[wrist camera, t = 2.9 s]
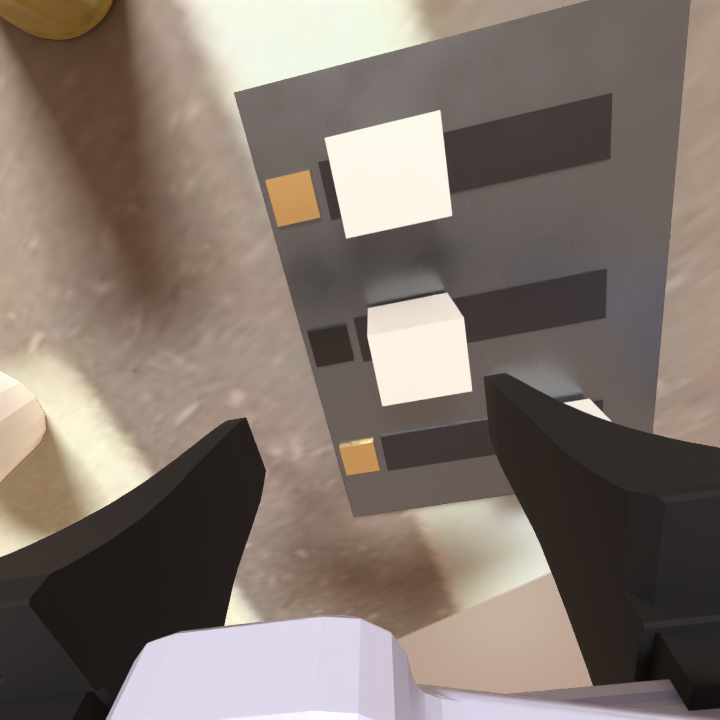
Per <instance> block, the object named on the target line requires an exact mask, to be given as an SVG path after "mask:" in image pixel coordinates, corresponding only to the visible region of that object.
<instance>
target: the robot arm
mask: <svg viewBox="0 0 720 720" xmlns="http://www.w3.org/2000/svg"><path fill="white" fill-rule="evenodd" d="M484 386H485V396H486V406H487V416H488V426H489V436H490V438H491V441H492V444H493V447H494V450H495V453H496V455H497V458H498V461H499V464H500V466H501V468H502V470H503V472H504V474H505V476H506V477H507V479H508V481H509V483H510V485H511V487H512V489H513V491H514V493H515V495H516V497H517V499H518V501H519V502H520V504H521V506H522V508H523V510H524V512H525V514H526V516H527V518H528V520H529V522H530V523H531V525H532V527H533V529H534V531H535V534H536V536H537V538H538V540H539V542H540V545H541V547H542V550H543V552H544V555H545V557H546V560H547V562H548V565H549V567H550V570H551V572H552V575H553V577H554V579H555V582H556V585H557V588H558V591H559V593H560V596H561V598H562V601H563V604H564V606H565V609H566V611H567V614H568V617H569V620H570V622H571V625H572V628H573V631H574V633H575V636H576V639H577V642H578V644H579V647H580V650H581V653H582V655H583V658H584V661H585V663H586V667H587V669H588V672H589V675H590V678H591V681H592V684H593V686H589V687H578V688H568V689H556V690H547V691H535V692H525V693H513V694H500V693H491V692H482V691H474V690H464V689H456V688H447V687H439V686H430V685H421V684H416V683H415V681H414V679H413V677H412V673H411V669H410V665H409V662H408V658H407V654H406V653H405V651H404V650H403V648H402V647H401V646H400V644H399V643H398V641H397V640H396V639H395V637H394V636H393V635H392V633H391V632H389V631H388V630H387V629H385V628H383V627H381V626H379V625H376V624H374V623H372V622H370V621H368V620H365V619H363V618H361V617H359V616H345V615H328V614H324V615H316V616H307V617H299V618H290V619H281V620H273V621H264V622H256V623H247V624H239V625H230V626H224V624H225V619H226V614H227V610H228V605H229V601H230V596H231V592H232V588H233V583H234V580H235V576H236V573H237V569H238V566H239V563H240V560H241V557H242V554H243V551H244V549H245V546H246V543H247V540H248V537H249V534H250V531H251V528H252V525H253V522H254V519H255V516H256V513H257V510H258V507H259V504H260V501H261V496H262V491H263V486H264V479H265V473H266V470H265V467H264V464H263V461H262V459H261V456H260V453H259V451H258V448H257V445H256V443H255V440H254V437H253V435H252V432H251V429H250V427H249V424H248V421H247V418H240V419H234V420H228V421H226V422H224V423H223V424H221V425H219V426H218V427H217V428H215V429H214V430H213V431H211V432H210V433H209V434H207V435H206V436H205V437H203V438H202V439H201V440H200V441H198V442H197V443H196V444H194V445H193V446H192V447H191V448H189V449H188V450H187V451H186V452H184V453H183V454H182V455H180V456H179V457H178V458H177V459H175V460H174V461H173V462H171V463H170V464H168V465H167V466H166V467H164V468H163V469H162V470H160V471H159V472H158V473H156V474H155V475H153V476H152V477H151V478H149V479H148V480H147V481H145V482H144V483H142V484H141V485H139V486H138V487H136V488H135V489H133V490H132V491H130V492H128V493H127V494H125V495H124V496H122V497H120V498H119V499H117V500H116V501H114V502H112V503H111V504H109V505H107V506H105V507H104V508H102V509H100V510H98V511H96V512H94V513H93V514H91V515H89V516H87V517H85V518H83V519H82V520H80V521H78V522H76V523H74V524H72V525H71V526H69V527H67V528H65V529H63V530H60V531H58V532H56V533H54V534H52V535H50V536H48V537H46V538H44V539H42V540H39V541H37V542H35V543H33V544H31V545H29V546H26V547H24V548H22V549H19V550H17V551H15V552H13V553H10V554H8V555H5V556H3V557H0V720H720V448H718V447H713V446H707V445H702V444H696V443H690V442H685V441H681V440H676V439H671V438H667V437H663V436H659V435H655V434H651V433H647V432H643V431H639V430H636V429H632V428H629V427H626V426H622V425H619V424H616V423H613V422H610V421H607V420H605V419H602V418H599V417H596V416H593V415H591V414H588V413H586V412H583V411H581V410H579V409H576V408H574V407H572V406H569V405H567V404H565V403H563V402H561V401H559V400H556V399H554V398H552V397H550V396H548V395H546V394H544V393H543V392H541V391H539V390H537V389H535V388H533V387H531V386H529V385H528V384H526V383H524V382H522V381H520V380H518V379H517V378H515V377H513V376H511V375H509V374H507V373H501V374H495V375H489V376H484Z"/></svg>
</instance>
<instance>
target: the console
mask: <svg viewBox="0 0 720 720" xmlns="http://www.w3.org/2000/svg"><path fill="white" fill-rule="evenodd" d="M689 12H690V0H589V1H585V2H581V3H577V4H573V5H570V6H566V7H562V8H558V9H554V10H550V11H547V12H543V13H539V14H535V15H531V16H527V17H523V18H520V19H516V20H512V21H508V22H504V23H500V24H497V25H493V26H489V27H485V28H481V29H477V30H473V31H470V32H466V33H462V34H458V35H454V36H450V37H446V38H443V39H439V40H435V41H431V42H427V43H423V44H420V45H416V46H412V47H408V48H404V49H400V50H396V51H393V52H389V53H385V54H381V55H377V56H373V57H370V58H366V59H362V60H358V61H354V62H350V63H346V64H343V65H339V66H335V67H331V68H327V69H323V70H320V71H316V72H312V73H308V74H304V75H300V76H296V77H293V78H289V79H285V80H281V81H277V82H273V83H270V84H266V85H262V86H258V87H254V88H250V89H246V90H243V91H239V92H235V93H234V95H235V98H236V102H237V106H238V109H239V113H240V116H241V120H242V123H243V127H244V130H245V134H246V137H247V141H248V144H249V148H250V152H251V155H252V159H253V162H254V166H255V169H256V173H257V176H258V180H259V183H260V187H261V190H262V194H263V198H264V201H265V205H266V208H267V212H268V215H269V219H270V222H271V226H272V229H273V233H274V237H275V240H276V244H277V247H278V251H279V254H280V258H281V261H282V265H283V268H284V272H285V275H286V279H287V283H288V286H289V290H290V293H291V297H292V300H293V304H294V307H295V311H296V314H297V318H298V322H299V325H300V329H301V332H302V336H303V339H304V343H305V346H306V350H307V353H308V357H309V360H310V364H311V368H312V371H313V375H314V378H315V382H316V385H317V389H318V392H319V396H320V399H321V403H322V406H323V410H324V414H325V417H326V421H327V424H328V428H329V431H330V435H331V438H332V442H333V445H334V449H335V453H336V456H337V460H338V463H339V467H340V470H341V474H342V477H343V481H344V484H345V488H346V491H347V495H348V499H349V502H350V506H351V509H352V513H353V516H354V517H355V516H362V515H369V514H377V513H384V512H391V511H398V510H405V509H412V508H419V507H426V506H433V505H440V504H447V503H454V502H461V501H468V500H475V499H482V498H490V497H497V496H504V495H511V494H515V493H514V491H513V489H512V487H511V485H510V483H509V481H508V479H507V477H506V476H505V474H504V472H503V470H502V468H501V466H500V464H499V461H498V458H497V455H496V453H495V450H494V447H493V444H492V441H491V438H490V436H489V426H488V416H487V406H486V396H485V386H484V376H489V375H495V374H501V373H507V374H509V375H511V376H513V377H515V378H517V379H518V380H520V381H522V382H524V383H526V384H528V385H529V386H531V387H533V388H535V389H537V390H539V391H541V392H543V393H544V394H546V395H548V396H550V397H552V398H554V399H556V400H559V401H561V402H563V403H566V402H572V401H578V400H584V399H590V400H591V401H592V402H593V403H594V404H595V405H596V406H597V407H598V408H599V409H600V410H601V411H602V412H603V413H604V414H605V415H606V416H607V417H608V418H609V419H610V420H611V421H612V422H613V423H616V424H619V425H622V426H626V427H629V428H632V429H636V430H639V431H643V432H647V433H651V434H653V423H654V412H655V400H656V389H657V377H658V366H659V355H660V343H661V332H662V320H663V309H664V297H665V286H666V274H667V263H668V252H669V240H670V229H671V217H672V206H673V194H674V183H675V172H676V160H677V149H678V137H679V126H680V114H681V103H682V92H683V80H684V69H685V57H686V46H687V34H688V23H689ZM438 110H440V112H441V121H442V130H443V138H444V147H445V156H446V165H447V174H448V182H449V191H450V200H451V209H452V216H449V217H445V218H440V219H435V220H431V221H426V222H421V223H417V224H412V225H407V226H403V227H398V228H393V229H389V230H384V231H379V232H375V233H370V234H365V235H361V236H356V237H351V238H347V239H346V235H345V231H344V226H343V222H342V217H341V212H340V208H339V203H338V198H337V194H336V189H335V184H334V180H333V175H332V171H331V166H330V161H329V157H328V152H327V147H326V143H325V138H327V137H331V136H335V135H339V134H343V133H347V132H351V131H356V130H360V129H364V128H368V127H372V126H376V125H380V124H384V123H389V122H393V121H397V120H401V119H405V118H409V117H413V116H418V115H422V114H426V113H430V112H434V111H438ZM443 293H448V294H449V296H450V298H451V299H452V301H453V302H454V304H455V305H456V307H457V308H458V310H459V311H460V313H461V314H462V316H463V317H464V323H465V332H466V340H467V349H468V358H469V367H470V376H471V384H472V391H470V392H465V393H459V394H453V395H447V396H441V397H435V398H429V399H423V400H417V401H411V402H405V403H399V404H394V405H388V406H382V402H381V398H380V393H379V388H378V384H377V379H376V374H375V370H374V365H373V361H372V356H371V351H370V347H369V342H368V337H367V323H368V308H371V307H376V306H381V305H386V304H391V303H397V302H402V301H407V300H412V299H417V298H422V297H427V296H432V295H438V294H443Z"/></svg>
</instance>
